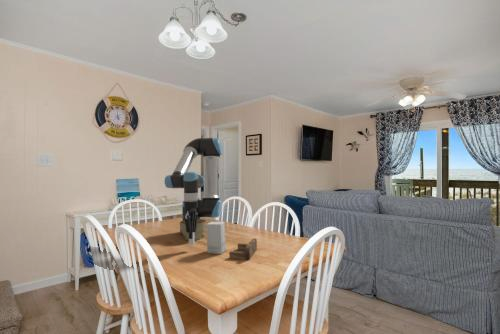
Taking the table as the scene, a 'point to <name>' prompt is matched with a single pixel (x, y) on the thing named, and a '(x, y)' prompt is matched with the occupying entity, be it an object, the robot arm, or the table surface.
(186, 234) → the planter bowl
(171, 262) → the table surface
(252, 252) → the bay
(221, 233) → the skincare box
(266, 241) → the table surface
